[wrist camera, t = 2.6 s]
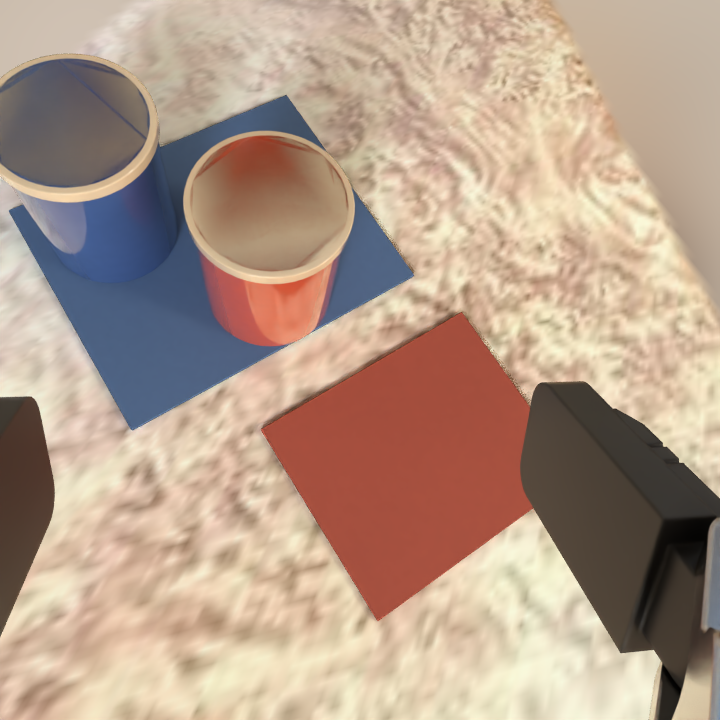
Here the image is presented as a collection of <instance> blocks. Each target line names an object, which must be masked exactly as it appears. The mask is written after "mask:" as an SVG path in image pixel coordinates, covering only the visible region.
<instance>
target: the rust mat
mask: <svg viewBox="0 0 720 720" xmlns="http://www.w3.org/2000/svg"><path fill="white" fill-rule="evenodd" d="M529 412H530V407H529V405H528V404H527V402H526V401H525V400H524V398H523V397H522V396H521V394H520V393H519V391H518V390H517V389H516V387H515V386H514V384H513V383H512V382H511V380H510V379H509V377H508V376H507V375H506V373H505V372H504V370H503V369H502V368H501V366H500V365H499V363H498V362H497V361H496V359H495V358H494V356H493V355H492V354H491V352H490V351H489V350H488V348H487V347H486V345H485V344H484V343H483V341H482V340H481V338H480V337H479V336H478V334H477V333H476V331H475V330H474V329H473V327H472V326H471V324H470V323H469V322H468V320H467V319H466V317H465V316H464V315H463V313H462V312H461V313H459V314H457V315H456V316H454V317H452V318H451V319H449V320H447V321H445V322H444V323H442V324H440V325H439V326H437V327H435V328H433V329H432V330H430V331H428V332H427V333H425V334H423V335H421V336H420V337H418V338H416V339H415V340H413V341H411V342H409V343H408V344H406V345H404V346H403V347H401V348H399V349H397V350H396V351H394V352H392V353H391V354H389V355H387V356H386V357H384V358H382V359H380V360H379V361H377V362H375V363H374V364H372V365H370V366H368V367H367V368H365V369H363V370H362V371H360V372H358V373H356V374H355V375H353V376H351V377H350V378H348V379H346V380H344V381H343V382H341V383H339V384H338V385H336V386H334V387H332V388H331V389H329V390H327V391H326V392H324V393H322V394H320V395H319V396H317V397H315V398H314V399H312V400H310V401H309V402H307V403H305V404H303V405H302V406H300V407H298V408H297V409H295V410H293V411H291V412H290V413H288V414H286V415H285V416H283V417H281V418H279V419H278V420H276V421H274V422H273V423H271V424H269V425H267V426H266V427H264V428H262V429H261V431H262V432H263V434H264V436H265V437H266V439H267V440H268V442H269V444H270V445H271V447H272V449H273V450H274V452H275V454H276V455H277V457H278V459H279V460H280V462H281V463H282V465H283V467H284V468H285V470H286V472H287V473H288V475H289V477H290V478H291V480H292V482H293V483H294V485H295V486H296V488H297V490H298V491H299V493H300V495H301V496H302V498H303V500H304V501H305V503H306V505H307V506H308V508H309V509H310V511H311V513H312V514H313V516H314V518H315V519H316V521H317V523H318V524H319V526H320V528H321V529H322V531H323V532H324V534H325V536H326V537H327V539H328V541H329V542H330V544H331V546H332V547H333V549H334V550H335V552H336V554H337V555H338V557H339V559H340V560H341V562H342V564H343V565H344V567H345V569H346V570H347V572H348V573H349V575H350V577H351V578H352V580H353V582H354V583H355V585H356V587H357V588H358V590H359V592H360V593H361V595H362V596H363V598H364V600H365V601H366V603H367V605H368V606H369V608H370V610H371V611H372V613H373V615H374V616H375V618H376V619H377V621H379V620H380V619H382V618H383V617H384V616H386V615H387V614H388V613H390V612H391V611H393V610H394V609H395V608H397V607H398V606H399V605H401V604H402V603H404V602H405V601H406V600H408V599H409V598H410V597H412V596H413V595H415V594H416V593H417V592H419V591H420V590H421V589H423V588H424V587H426V586H427V585H428V584H430V583H431V582H432V581H434V580H435V579H436V578H438V577H439V576H441V575H442V574H443V573H445V572H446V571H447V570H449V569H450V568H452V567H453V566H454V565H456V564H457V563H458V562H460V561H461V560H463V559H464V558H465V557H467V556H468V555H469V554H471V553H472V552H474V551H475V550H476V549H478V548H479V547H480V546H482V545H483V544H485V543H486V542H487V541H489V540H490V539H491V538H493V537H494V536H496V535H497V534H498V533H500V532H501V531H502V530H504V529H505V528H506V527H508V526H509V525H511V524H512V523H513V522H515V521H516V520H517V519H519V518H520V517H522V516H523V515H524V514H526V513H527V512H528V511H530V510H531V509H533V506H532V505H531V503H530V501H529V500H528V498H527V496H526V494H525V492H524V489H523V486H522V481H521V474H520V461H521V454H522V449H523V444H524V438H525V433H526V428H527V422H528V417H529Z"/></svg>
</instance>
